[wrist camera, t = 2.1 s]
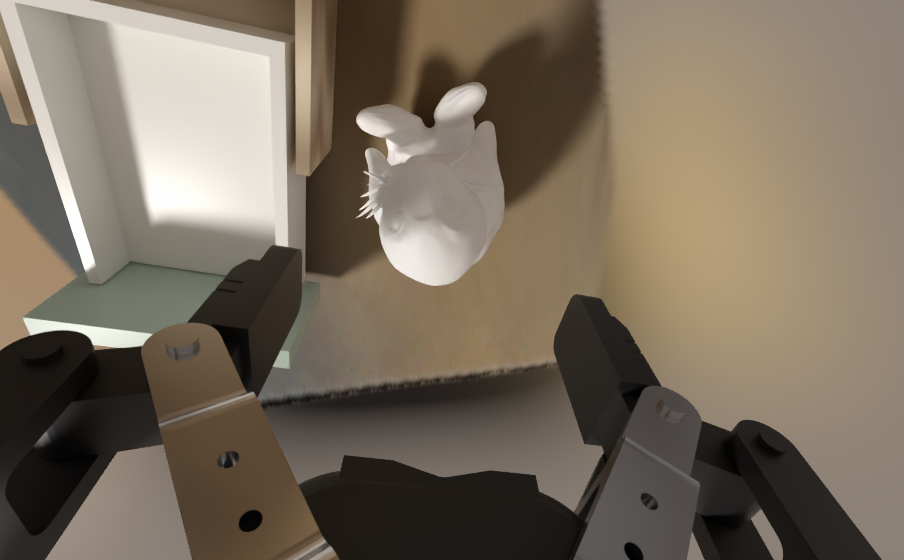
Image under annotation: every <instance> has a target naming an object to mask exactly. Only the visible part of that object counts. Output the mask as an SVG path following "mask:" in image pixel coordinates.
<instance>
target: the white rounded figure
mask: <svg viewBox="0 0 904 560" xmlns="http://www.w3.org/2000/svg"><path fill="white" fill-rule="evenodd" d="M486 95H487V90H486V88H485V87H484V86H483V85H482V84H480V83H479V82H471V83H467V84H464V85H461V86H458V87H455V88H452V89H451V90H449V91H448V92H447V93H446V94H445V95H444V97H443V98H442V99H441V101H440V102H439V104H438V106H437V107H436V109H435V112H434V119H435V125H434V126H433V127H432V128H427V127H426V126H425V125H424V123H423V121H422V119H421V118H420V117H418V116H416V115H414V114H412V113H410V112H408V111H406V110H404V109H402V108H400V107H397V106H395V105H391V104H385V105H379V106H373V107H368V108H365V109H363V110H362V111H360V112H359V114H358V115H357V118H356V122H357V124H358V125H359V127H360V128H361V129H362V130H363V131H365V132H367V133H369V134H371V135H374V136H377V137H381V138H386V144H387V147H388V157H387V159H386V158H385V156H384V155H383V154H382V153H381V152H380V151H378V150H377V149H374V148H368V149H367V150H366V152H365V157H366V160H367V163H368V169H369V172H366V171H363V172H364V173H366V174H367V175H369V176H370V178H369V184H367V185H369V192H367V193H366V194H363V195H362V196H361V197H364V196H368V195H369V199H370V200H369V201H368V202H367V203H366V204H365V205H364V206H363V207H361V208H360V210H362V209H363V208H365V207H367V206H368V205H369V204H370V205H369V206H368V207H367V208H366V209H365V210H364V211H363V212H362V213H361V214H360V215H359V216H357V217H360V216H362V215H364V214H365V213H367V212H368V211H369V210H370V209H373V210H372V211H371V213H370V214H369V215H368V216H367V217H366V218H369V217H370V216H372V215H373V214H374V217H375V219H376V221H377V223H378V224H379V234H380V239H381V243H382V246H383V249H384V251H385V253H386V255H387V257H388V259H389V261H390V262H391V263H392V265H393V266H394V267H395V268H396V269H397V270H399V271H400V272H401V273H403V274H405V275H406V276H408V277H410V278H412V279H414V280H416V281H419V282H421V283H424V284H428V285H433V286H438V285H445V284H449V283H452V282H454V281H456V280H457V279H459V278H460V277H461V276H462V275H463V274H464V273H466V271H467V270H468V269H469V268H470V267H471V266H472V265H473V264H474V263H476V262H477V261H479V260H480V259H481V258H482V256H483V255H484V254H485V253H486V251H487V249H488V247H489V245H490V243H491V241H492V239H493V237H494V236H495V234H496V233H497V232H498V230H499V229H500V227H501V224H502V220H503V214H504V208H505V201H504V185H503V181H502V177H501V174H500V169H499V165H498V161H497V151H496V150H497V142H496V134H495V128H494V125H493V123H492V122H490V121H484V122H482V123H481V124H480V125H479V126H478V127H477V129H476V131H475V128H474V126H475V123H474V119H473V115H474V114H475V113H476V112H477V111H478V110H479V109H480V108H481V106H482V105H483V104H484V102H485V99H486ZM357 217H356V218H357Z"/></svg>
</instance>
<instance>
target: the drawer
mask: <svg viewBox="0 0 904 560" xmlns="http://www.w3.org/2000/svg"><path fill="white" fill-rule="evenodd" d="M0 12H1V15H2V18H3V21H4V24H5V27H6V31H7V34H8V37H9V40H10V43H11V46H12V49H13V52H14V55H15V58H16V61H17V64H18V67H19V70H20V73H21V76H22V79H23V82H24V85H25V88H26V91H27V95H28V98H29V101H30V104H31V107H32V110H33V113H34V116H35V119H36V122H37V125H38V128H39V131H40V134H41V137H42V140H43V143H44V146H45V149H46V152H47V155H48V159H49V162H50V165H51V168H52V171H53V174H54V177H55V180H56V183H57V186H58V189H59V192H60V195H61V198H62V201H63V204H64V207H65V210H66V213H67V216H68V219H69V223H70V226H71V229H72V232H73V235H74V238H75V241H76V244H77V247H78V250H79V253H80V256H81V259H82V262H83V265H84V268H85V272H84V273H83V274H81V275H80V276H78V277H77V278H76V279H74V280H73V281H72V282H70V283H69V284H68V285H66V286H65V287H63V288H62V289H61V290H59V291H58V292H57V293H55V294H54V295H52V296H51V297H50V298H48V299H47V300H46V301H44V302H43V303H41V304H40V305H39V306H37V307H36V308H35V309H33V310H32V311H30V312H29V313H28V314H26V315H25V316H24V317H23V320H24V322H25V324H26V326H27V328H28V331H29V333H30V335H34V334H38V333H42V332H48V331H56V330H70V331H76V332H80V333H83V334H85V335H86V336H88V337H89V338H90V340H91V341H92V344H93V345H101V346H110V347H118V348H127V347H137V346H143V344H144V342H145V341H146V340H147V339H148V338H149V337H150V336H151V335H153V334H154V333H156V332H157V331H159V330H161V329H164V328H166V327H169V326H172V325H176V324H182V323H187V322H188V321H189V319H190V318H191V317H192V316H193V315H194V313H195V312H196V311H197V310H198V309H199V307H200V306H201V305H202V304H203V303H204V302H205V300H206V299H207V298H208V297H209V296H210V294H211V293H212V292H213V291H215V290H216V287H217V286H218V285H219V284H220V282H221V281H223V280H224V278H225V277H226V275H227V274H228V273H229V272H230V271H231V269H232V268H233V267H235V266H237V265H239V264H241V263H242V262H244V261H246V260H248V259H253V260H261V258H262V257H263V256H264V254H265V253H266V252H267V250H268V249H269V248H270V246H271V245H278V246H285V247H291V248H297V249H301V251H302V299H301V305H300V310H299V313H298V316H297V318H296V320H295V322H294V324H293V326H292V328H291V330H290V332H289V334H288V336H287V338H286V340H285V342H284V344H283V346H282V348H281V350H280V353H279V355H278V357H277V359H276V361H275V363H274V365H273V367H280V368H288V369H289V368H290V366H291V364H292V361H293V359H294V357H295V354H296V352H297V350H298V347H299V345H300V343H301V340H302V338H303V336H304V333H305V331H306V329H307V326H308V324H309V322H310V319H311V317H312V315H313V312H314V310H315V308H316V305H317V303H318V301H319V294H320V283H315V282H309V281H305V238H306V176H304V175H299V174H296V77H295V35H290V34H286V33H281V32H277V31H272V30H268V29H263V28H258V27H254V26H249V25H245V24H240V23H236V22H231V21H227V20H222V19H218V18H213V17H209V16H204V15H200V14H195V13H190V12H186V11H181V10H177V9H172V8H168V7H163V6H159V5H154V4H150V3H145V2H141V1H136V0H0Z"/></svg>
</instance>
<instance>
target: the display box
mask: <svg viewBox="0 0 904 560" xmlns="http://www.w3.org/2000/svg"><path fill="white" fill-rule="evenodd" d="M136 1H141V2H145V3H150V4H154V5H159V6H163V7H168V8H172V9H177V10H181V11H186V12H190V13H195V14H200V15H204V16H209V17H213V18H218V19H222V20H227V21H231V22H236V23H240V24H245V25H249V26H254V27H258V28H263V29H268V30H272V31H277V32H281V33H286V34H290V35H295V77H296V174H299V175H304V176H310V175H311V174H312V173H313V171H314V170H315V169H316V168H317V166H318V165H319V164H320V163H321V161H322V160H323V159H324V158H325V156H326V155H327V154H328V153H329V151H330V150H331V149H332V126H333V102H334V78H335V54H336V30H337V6H338V0H136ZM0 91H1V94H2V96H3V99H4V102H5V105H6V107H7V110H8V113H9V116H10V119H11V121H12V123H16V124H22V125H27V126H28V125H32V124H35V123H37V122H36V119H35V116H34V113H33V110H32V107H31V104H30V101H29V98H28V95H27V91H26V88H25V85H24V82H23V79H22V76H21V73H20V70H19V67H18V64H17V61H16V58H15V55H14V52H13V49H12V46H11V43H10V40H9V37H8V34H7V31H6V27H5V24H4V21H3V18H2V15H1V12H0Z"/></svg>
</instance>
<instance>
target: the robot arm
mask: <svg viewBox="0 0 904 560" xmlns="http://www.w3.org/2000/svg"><path fill="white" fill-rule="evenodd" d="M301 299H302V251H301V249H297V248H291V247H285V246H278V245H271V246H270V248H269V249H268V250H267V252H266V253H265V254H264V256H263V257H262V258H261V260H253V259H248V260H246V261H244V262H242V263H241V264H239V265H237V266H235V267H233V268H232V269H231V271H230V272H229V273H228V274H227V275H226V277H225V278H224V280H223V281H221V282H220V284H219V285H218V286H217V287H216V290H215V291H213V292H212V293H211V294H210V296H209V297H208V298H207V299H206V300H205V302H204V303H203V304H202V305H201V306H200V307H199V309H198V310H197V311H196V312H195V313H194V315H193V316H192V317H191V318H190V319H189V321H188V322H187V323H182V324H176V325H172V326H169V327H166V328H164V329H161V330H159V331H157V332H156V333H154V334H153V335H151V336H150V337H149V338H148V339H147V340H146V341H145V342H144V344H143V346H137V347H127V348H115V349H103V350H94V347H93V344H92V341H91V340H90V338H89V337H88V336H86V335H85V334H83V333H80V332H76V331H70V330H56V331H48V332H42V333H38V334H34V335H31V336H28V337H25V338H22V339H20V340H18V341H16V342H13V343H12V344H10V345H8V346H6V347H5V348H3V349H2V350H1V351H0V560H45V559H46V557H47V556H48V554H49V553H50V551H51V550H52V548H53V547H54V545H55V544H56V542H57V541H58V539H59V538H60V536H61V535H62V534H63V532H64V531H65V529H66V528H67V526H68V524H69V523H70V522H71V520H72V519H73V517H74V516H75V514H76V513H77V511H78V509H79V508H80V507H81V505H82V504H83V502H84V501H85V499H86V498H87V496H88V495H89V493H90V492H91V490H92V489H93V487H94V486H95V484H96V483H97V481H98V480H99V478H100V477H101V475H102V474H103V472H104V471H105V469H106V468H107V466H108V465H109V463H110V462H111V461H112V459H113V458H114V456H115V455H116V453H117V452H119V451H125V450H131V449H137V448H143V447H150V446H156V445H162V444H163V445H164V448H165V453H166V457H167V461H168V464H169V468H170V472H171V476H172V480H173V485H174V489H175V493H176V497H177V501H178V504H179V509H180V513H181V516H182V521H183V525H184V529H185V533H186V536H187V541H188V545H189V549H190V553H191V557H192V560H687V555H688V549H689V544H690V539H691V533H692V532H693V534H694V536H695V538H696V541H697V543H698V545H699V548H700V550H701V552H702V555H703V557H704V559H705V560H774V559H773V558H772V556H771V554H770V552H769V551H768V549H767V547H766V545H765V543H764V542H763V540H762V538H761V536H760V535H759V533H758V531H757V529H756V527H755V526H754V524H753V522H752V520H751V518H752V517H753V516H754V515H755V514H756V513H757V512H758V511H759V510H761V509H762V510H763V512H764V514H765V516H766V517H767V519H768V521H769V522H770V524H771V526H772V527H773V529H774V531H775V532H776V534H777V536H778V538H779V539H780V542H781V544H782V548H783V560H881V558H880V557H879V556H878V554H877V553H876V552H875V550H874V549H873V548H872V546H871V545H870V544H869V542H868V541H867V540H866V539H865V537H864V536H863V535H862V533H861V532H860V531H859V529H858V528H857V527H856V526H855V524H854V523H853V522H852V520H851V519H850V518H849V516H848V515H847V514H846V512H845V511H844V510H843V509H842V507H841V506H840V505H839V504H838V502H837V501H836V499H835V498H834V497H833V495H832V494H831V493H830V492H829V490H828V489H827V488H826V486H825V485H824V484H823V482H822V481H821V480H820V478H819V477H818V476H817V475H816V473H815V472H814V471H813V469H812V468H811V467H810V465H809V464H808V463H807V462H806V461H805V459H804V458H803V456H802V455H801V454H800V453H799V451H798V450H797V449H796V448H795V446H794V445H793V444H792V443H791V442H790V441H789V440H788V439H787V438H785V437H784V436H783V435H782V434H780V433H779V432H777V431H776V430H774V429H772V428H771V427H769V426H767V425H765V424H762V423H760V422H757V421H753V420H743V421H740V422H739V423H738V424H737V425H736V426H735V428H734V429H733V430H732V431H731V432H730V431H728V430H725V429H722V428H719V427H717V426H714V425H712V424H709V423H706V422H704V421H701V418H700V415H699V413H698V411H697V410H696V409H695V407H694V406H693V405H692V404H691V403H690V402H689V401H688V400H687V399H685V398H684V397H683V396H681V395H680V394H678V393H676V392H674V391H672V390H670V389H668V388H665V387H662V386H661V385H660V383H659V381H658V379H657V378H656V376H655V374H654V373H653V371H652V369H651V368H650V366H649V364H648V363H647V361H646V359H645V358H644V356H643V354H641V351H640V349H639V348H638V346H637V344H635V343H634V342H635V341H634V339H633V337H632V336H631V334H630V332H629V331H628V329H627V328H626V327H625V326H624V325H623V324H622V323H621V322H620V321H619V320H617V319H616V318H615V317H613V316H611V315H610V313H609V312H608V310H607V308H606V306H605V305H604V303H603V301H602V300H601V299H600V298H596V297H590V296H584V295H577V294H575V295H574V296H573V297H572V298H571V299H570V301H569V304H568V306H567V308H566V311H565V313H564V315H563V318H562V320H561V322H560V325H559V327H558V329H557V332H556V334H555V338H554V353H555V357H556V360H557V363H558V366H559V369H560V372H561V375H562V378H563V381H564V384H565V386H566V390H567V393H568V396H569V399H570V402H571V404H572V408H573V410H574V414H575V417H576V420H577V423H578V426H579V429H580V432H581V435H582V438H583V441H584V444H590V445H599V446H602V448H603V450H604V453H603V454H602V456H601V457H600V459H599V461H598V463H597V465H596V467H595V469H594V471H593V473H592V475H591V478H590V479H589V482H588V484H587V486H586V488H585V490H584V492H583V494H582V496H581V498H580V500H579V502H578V505H577V507H576V509H575V511H574V512H573V511H571V510H570V509H569V508H567V507H566V506H565V505H563V504H562V503H560V502H558V501H557V500H555V499H554V498H551V497H549V496H547V495H545V494H543V493H541V492H539V490H538V485H537V480H536V476H535V475H529V474H518V473H509V472H500V471H484V472H478V473H472V474H465V475H459V476H453V477H438V476H436V475H433V474H430V473H427V472H424V471H421V470H419V469H416V468H413V467H410V466H407V465H405V464H402V463H399V462H396V461H393V460H385V459H374V458H364V457H356V456H346V455H344V458H343V462H342V467H341V471H337V472H331V473H327V474H323V475H320V476H317V477H315V478H312V479H309V480H307V481H304V482H303V483H301V484H299V485H298V483H297V481H296V479H295V477H294V475H293V473H292V471H291V469H290V466H289V464H288V462H287V460H286V458H285V456H284V454H283V452H282V449H281V448H280V445H279V443H278V441H277V439H276V437H275V434H274V432H273V430H272V428H271V426H270V424H269V422H268V420H267V417H266V415H265V413H264V411H263V409H262V407H261V405H260V403H259V400H258V395H259V393H260V391H261V389H262V387H263V385H264V383H265V381H266V379H267V377H268V375H269V373H270V371H271V369H272V367H273V365H274V363H275V361H276V359H277V357H278V355H279V353H280V350H281V348H282V346H283V344H284V342H285V340H286V338H287V336H288V334H289V332H290V330H291V328H292V326H293V324H294V322H295V320H296V318H297V316H298V313H299V310H300V305H301Z"/></svg>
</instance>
